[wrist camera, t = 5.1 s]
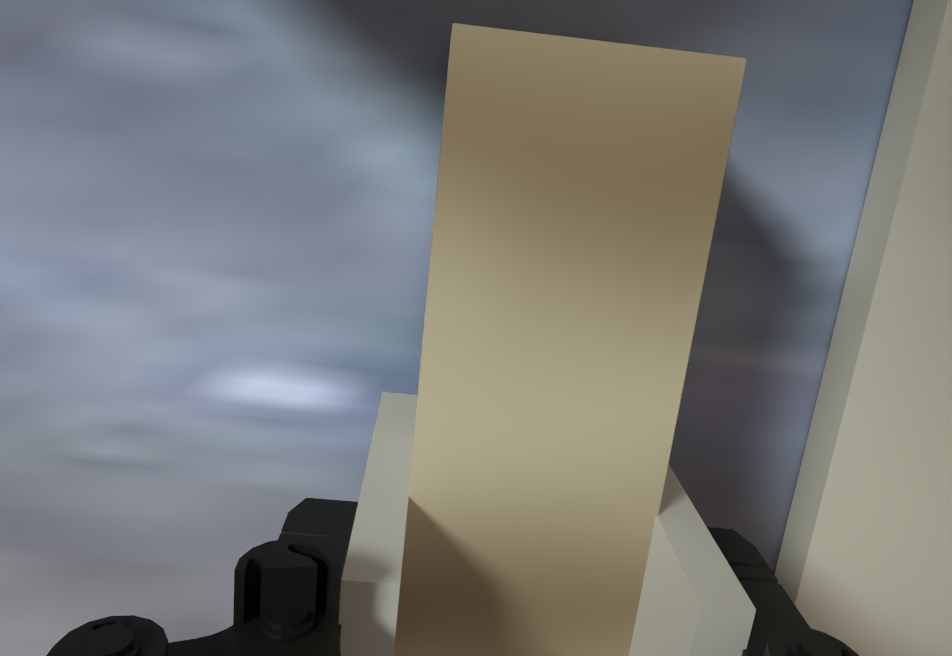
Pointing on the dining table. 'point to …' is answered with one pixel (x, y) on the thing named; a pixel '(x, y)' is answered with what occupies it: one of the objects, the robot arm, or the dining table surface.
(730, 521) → the dining table surface
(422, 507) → the rail
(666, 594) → the robot arm
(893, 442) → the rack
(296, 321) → the dining table surface
